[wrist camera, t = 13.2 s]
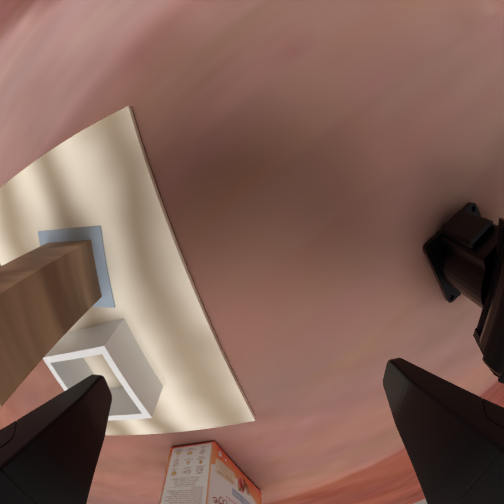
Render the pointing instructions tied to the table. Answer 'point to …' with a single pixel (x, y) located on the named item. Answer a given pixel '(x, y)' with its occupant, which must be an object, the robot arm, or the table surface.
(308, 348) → the table surface
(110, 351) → the sleeve
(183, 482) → the cracker box
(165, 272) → the board
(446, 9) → the table surface
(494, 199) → the table surface
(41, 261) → the walnut block
